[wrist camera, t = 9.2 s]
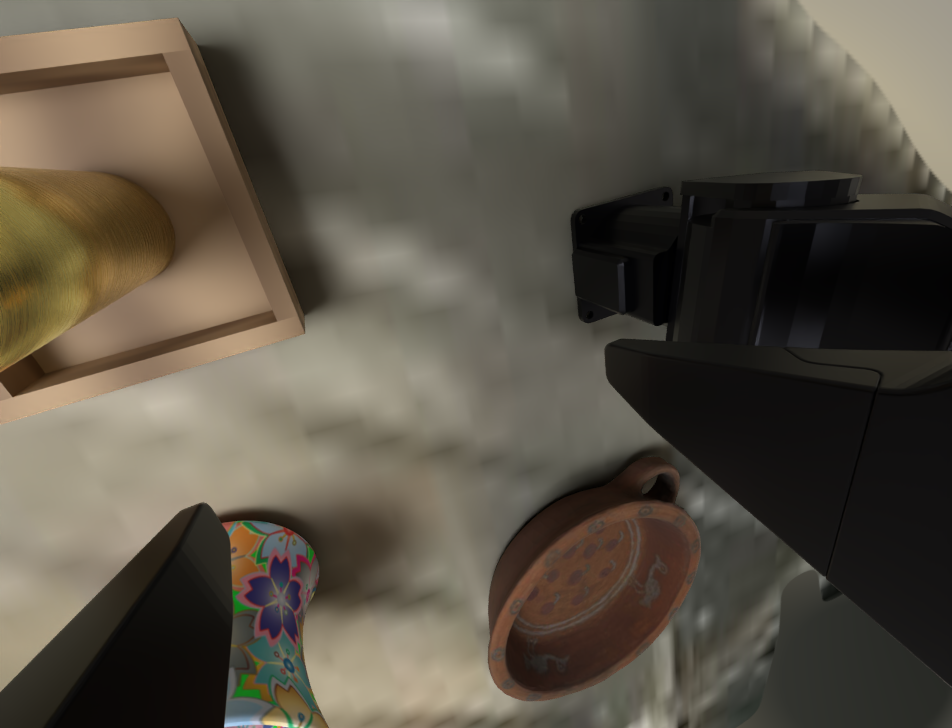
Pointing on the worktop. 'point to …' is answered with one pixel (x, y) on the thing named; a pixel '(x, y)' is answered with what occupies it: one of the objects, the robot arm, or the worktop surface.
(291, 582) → the mug
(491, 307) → the worktop surface
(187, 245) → the tray
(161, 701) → the robot arm
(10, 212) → the pin
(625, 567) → the dish
